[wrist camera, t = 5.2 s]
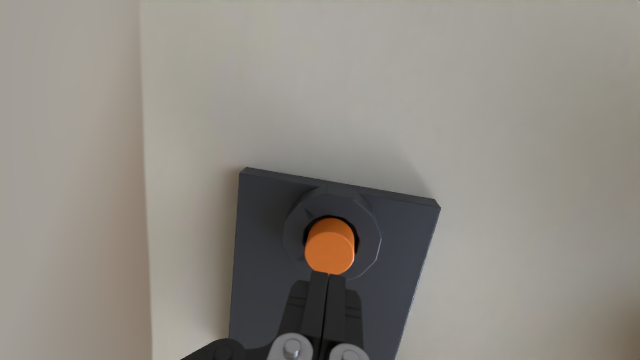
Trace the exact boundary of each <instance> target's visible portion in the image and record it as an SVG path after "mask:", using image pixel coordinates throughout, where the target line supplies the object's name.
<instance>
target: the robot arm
mask: <svg viewBox="0 0 640 360" xmlns="http://www.w3.org/2000/svg"><path fill="white" fill-rule="evenodd" d="M327 280H328V283H327ZM181 360H370V359H369V357H368V355H367V354H366V353H365V351H364V338H363V320H362V300H361V298H360V296H359V295H358V293H357V291H356V290H350V289H346V276H341V275H336V274H331V273H329V278H328V273H326V272H320V271H315V270H312V273H311V278H310V282H308V281H303V280H297V281H296V282H295V283H294V284H293V285H292V286H291V289H290V292H289V296H288V299H287V303H286V306H285V309H284V313H283V316H282V320H281V323H280V327H279V330H278V333H277V336H276V337H275V339H274V340H273V341H272V342H270V343H269V344H267V345H265V346H263V347H260V348H254V349H244V347H243V345H242V344H241V343H240V342H238V341H236V340H234V339H228V338H224V339H219V340H216V341H213V342H211V343H210V344H208V345H206V346H204V347H202V348H201V349H199V350H197V351H195V352H193V353H192V354H190V355H188V356H186V357H184V358H183V359H181Z"/></svg>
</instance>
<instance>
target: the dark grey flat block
mask: <svg viewBox="0 0 640 360" xmlns="http://www.w3.org/2000/svg"><path fill="white" fill-rule="evenodd" d="M440 210H441V207H440V206H439V204H438V203H437V202H436V200H435V199H430V198H424V197H418V196H413V195H407V194H401V193H395V192H389V191H383V190H378V189H372V188H366V187H360V186H354V185H348V184H343V183H337V182H331V181H325V180H319V179H313V178H307V177H302V176H296V175H290V174H284V173H278V172H272V171H267V170H261V169H255V168H249V167H246V168H245V169H244V170H243V171H242V172H241V173H240V174H239V188H238V203H237V218H236V234H235V249H234V264H233V279H232V294H231V310H230V325H229V339H234V340H236V341H238V342H240V343H241V344H242V345H243V347H244V349H254V348H260V347H263V346H265V345H267V344H269V343H270V342H272V341H273V340H274V339H275V337H276V336H277V333H278V330H279V327H280V323H281V320H282V316H283V313H284V309H285V306H286V303H287V299H288V296H289V292H290V289H291V286H292V285H293V284H294V283H295V282H296V281H297V280H303V281H308V282H310V278H311V273H312V270H313V269H312V268H311V267H310V266H309V264H308V263H307V261H306V258H305V253H304V251H305V246H306V242H307V238H308V234H309V231H310V229H311V227H312V226H313V225H314V224H315V223H316V222H317V221H319V220H322V219H325V218H336V219H339V220H341V221H343V222H345V223H346V224H347V225H348V226H349V227H350V228H351V230H352V232H353V235H354V260H353V262H352V264H351V266H350V267H349V268H348V269H347V270H346V271H344V272H342V273H340V274H337V275H341V276H346V289H350V290H356V291H357V293H358V295H359V296H360V298H361V300H362V320H363V338H364V351H365V353H366V354H367V355H368V357H369V359H370V360H395V358H396V355H397V351H398V348H399V345H400V341H401V338H402V335H403V332H404V328H405V325H406V322H407V318H408V315H409V312H410V309H411V305H412V302H413V299H414V295H415V292H416V289H417V286H418V282H419V279H420V276H421V272H422V269H423V266H424V263H425V259H426V256H427V253H428V250H429V246H430V243H431V240H432V236H433V233H434V230H435V227H436V223H437V220H438V217H439V213H440ZM328 278H329V275H328ZM327 283H328V280H327Z"/></svg>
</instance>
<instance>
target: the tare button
mask: <svg viewBox="0 0 640 360" xmlns="http://www.w3.org/2000/svg"><path fill="white" fill-rule="evenodd" d="M304 253H305V258H306V261H307V263H308V264H309V266H310V267H311V268H312V269H313V270H315V271H320V272H326V273H328V275H329V273H331V274H336V275H337V274H340V273H342V272H344V271H346V270H347V269H348V268H349V267H350V266H351V264H352V262H353V260H354V235H353V232H352V230H351V228H350V227H349V226H348V225H347V224H346V223H345V222H343V221H341V220H339V219H336V218H325V219H322V220H319V221H317V222H316V223H315V224H314V225H313V226H312V227H311V229H310V231H309V234H308V238H307V242H306V246H305V251H304Z"/></svg>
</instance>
